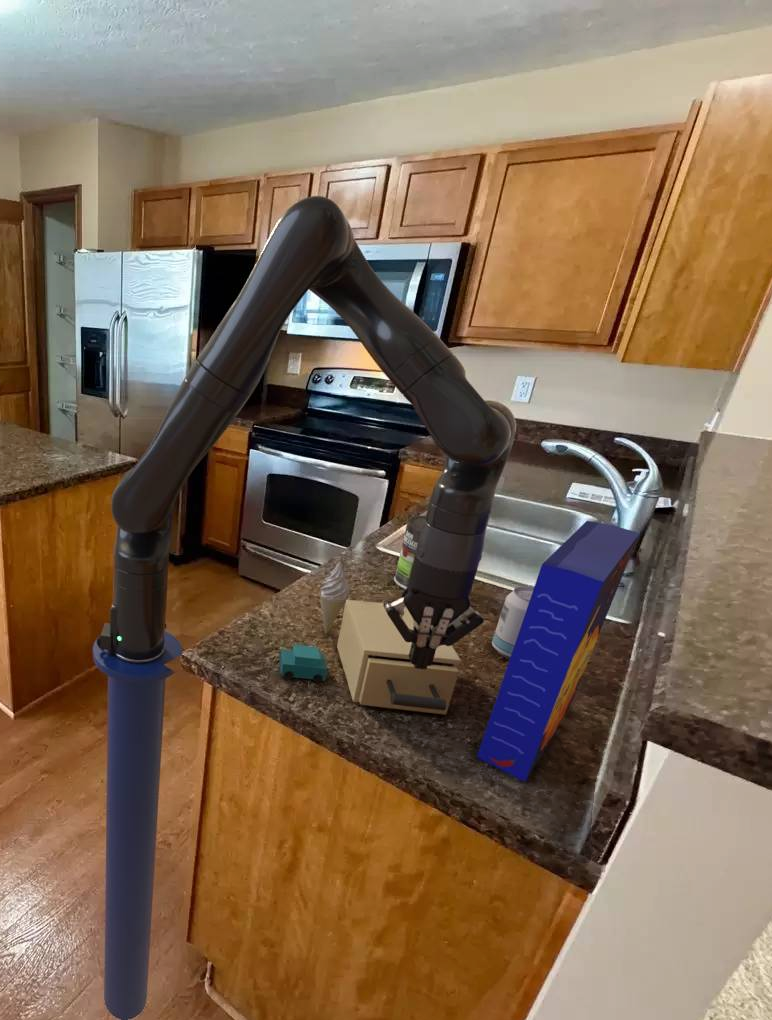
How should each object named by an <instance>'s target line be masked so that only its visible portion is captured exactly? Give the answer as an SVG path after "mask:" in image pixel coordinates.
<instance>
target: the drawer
mask: <svg viewBox="0 0 772 1020" xmlns="http://www.w3.org/2000/svg"><path fill="white" fill-rule="evenodd" d="M447 664H448V663H439V662H433V663H432V664H431V666H427V669H417V668H415V667H414V665H413V664H412V663H411V661H410V659H402V658H392V657H383V656H373V655H369V656H368V661H367V665H366V670H365V674H364V679H363V683H362V688H361V692H360V697H359V702H360V703H359V702H358V703H359V704H360V705H361V706H368V707H376V708H377V707H378V708H385V709H386V708H387V709H394V710H402V711H403V710H404V711H411V712H419V713H420V712H421V713H427V714H428V713H429V714H437V715H445V716H446V715H447V714H448V710H449V706H450V704H451V700H452V696H453V693H454V689H455V686H456V684H457V680H458V677H459V673H460V671H459V668H458V669H457V668H456V667H450V666H447Z"/></svg>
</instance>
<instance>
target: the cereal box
mask: <svg viewBox="0 0 772 1020" xmlns="http://www.w3.org/2000/svg"><path fill="white" fill-rule="evenodd" d="M640 535H641V533H640V532H637V531H633V530H631V529H628V528H624V527H620V526H617V525H614V524H609V523H604V522H596V521H591V520H586V521H585V522H583V524H582V525H580V527H579V528H578V529H576V530H575V532H573V533H572V534H571V535H570V537H568V538H567V539H566V540H565V541H564V542H563V543H562V544H561V545H560V546H559V547H558V548H557V549H556V550H555V551H554V552H553V553H552V554H551V555H550V556H549V557H548V558H547V559H545V560H544V561H543V562H542V564H541V566H540V569H539V571H538V574H537V577H536V581H535V584H534V587H533V588H534V589H533V592H532V595H531V598H530V601H529V604H528V607H527V610H526V613H525V616H524V619H523V622H522V625H521V628H520V631H519V634H518V637H517V640H516V643H515V646H514V648H513V651H512V654H511V657H510V659H508V664H507V666H506V669H505V672H504V675H503V678H502V682H501V683H500V687H499V690H498V693H497V696H496V698H495V702H494V705H493V707H492V711H491V714H490V716H489V719H488V722H487V725H486V728H485V731H484V735H483V737H482V740H481V743H480V746H479V749H478V752H477V755H476V758H478V759H479V760H482V761H484V762H485V763H487V764H489V765H491V766H492V767H495V768H497V769H499V770H501V771H503V772H505V773H507V774H508V775H510V776H512V777H514V778H516V779H518V780H520V781H522V782H524V783H526V782H527V780H528V778H529V776H530V775H531V774H532V771H533V770H534V768H535V767H536V765H537V763H538V762H539V760H540V759H541V757H542V755H543V753H544V752H545V750H546V749H547V747H548V745H549V744H550V741H551V740H552V739H553V737H554V735H555V733H556V732H557V730H558V728H559V727H560V725H561V724H562V722H563V720H564V718H565V717H566V715H567V714H568V712H569V710H570V708H571V705H572V703H573V700H574V698H575V695H576V692H577V690H578V688H579V685H580V682H581V680H582V678H583V675H584V673H585V670H586V668H587V665H588V663H589V661H590V658H591V655H592V653H593V651H594V648H595V645H596V643H597V640H598V638H599V635H600V633H601V630H602V628H603V625H604V623H605V621H606V619H607V616H608V614H609V611H610V608H611V606H612V604H613V601H614V598H615V596H616V593H617V591H618V589H619V586H620V584H621V581H622V579H623V576H624V574H625V571H626V568H627V566H628V564H629V561H630V559H631V557H632V553H633V551H634V549H635V546H636V544H637V541H638V538H639V536H640Z"/></svg>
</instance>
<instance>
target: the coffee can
mask: <svg viewBox="0 0 772 1020" xmlns="http://www.w3.org/2000/svg"><path fill="white" fill-rule="evenodd" d="M425 519H426V515H414V516H410V517H408V518H407V520H406V527H405V531H404V536H403V541H402V544H401V548H400V553H399V556H398V557H399V558H398V561H397V565H396V570H395V573H394V574H395V575H394V576H393V581H394V583H395V584H396V585H397V586H399V587H400V588H401V589H404V590H406V588H407V587H408V582H409V577H410V573H411V569H412V565H413V560H414V556H415V552H416V548H417V543H418V539H419V535H420V532H421V530H422V528H423V525H424V522H425Z"/></svg>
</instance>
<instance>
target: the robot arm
mask: <svg viewBox="0 0 772 1020" xmlns="http://www.w3.org/2000/svg"><path fill="white" fill-rule="evenodd" d="M308 291H310V292H311V293H312V294H314V295H315V296H316V297H318V298H319V299H320V300H322V301H323V302H324V303H325V304H326V305H327V306H329V307H330V308H331V309H332V310H333V311H334V312H335V313H336V314H337V315H338V316H339V317H340V318H341V319H342V321H344V322H345V324H346V325H347V326H348V327H349V329H350V330H351V331H352V332H353V333H354V335H355V336H356V337H357V339H358V341H359V342H360V343H361V344H362V346H363V347H364V349H365V351H366V352H367V353H368V354H369V356H370V357H371V359H372V360H373V361H374V363H375V364H376V365H377V367H379V369H380V370H381V372H382V373H383V374H384V376H385V377H386V378H387V379H388V380H389V381H390V382H391V384H392V385H393V386H394V387H395V388H396V389H397V390H398V391H399V393H400V394H401V395H402V396H403V397H404V398H405V399H406V400H407V401H408V402H409V403H410V404H411V405H412V407H413V409H414V410H415V411H416V413H417V416H418V417H419V419H420V421H421V423H422V424H423V426H424V427H425V429H426V431H427V432H428V434H429V436H430V437H431V439H432V440H433V442H434V444H436V446H437V447H438V448H439V450H440V451H441V452H442V453H443V454H444V455H445V460H444V463H443V468H442V471H441V474H440V476H439V478H438V480H436V482H435V484H434V486H433V489H432V491H431V495H430V498H429V502H428V506H427V511H426V515H425V516H426V519H425V522H424V525H423V528H422V530H421V532H420V535H419V539H418V543H417V548H416V552H415V556H414V560H413V565H412V569H411V573H410V577H409V582H408V587H407V588H406V589H404V590H403V592H402V593H401V597H400V598H398V599H396V600H395V601H390V600H386V601H384V602H383V603H384V604H383V606H384V608H385V610H386V612H387V614H388V616H389V618H390V619H391V621H392V622H393V624H394V625H395V627H396V628H397V630H398V631H399V633H400V634H401V636H402V637H403V639H404V640H405V641H406V642H412V644H411V648H410V652H409V659H410V661H411V663H412V664H413V665H414V667H415V668H417V669H427V666H431V664H432V663H433V659H434V655H435V651H436V648H437V647H438V646H441V645H446V646H451V645H452V646H453V645H454V644H456V643H457V642H458V641H461V639H463V638H464V637H465V636H467V635H469V634H470V633H472V631H474V630H475V629H477V628H478V627H480V626H481V625H482V624H483V623H484V618H483V617H482V615H481V613H479V611H478V610H477V609H476V608H474V607H473V608H472V607H471V601H470V595H471V594H472V593H471V592H472V589H473V586H474V582H475V579H476V575H477V572H478V569H479V566H480V565H479V564H480V562H481V560H482V557H483V551H484V545H485V536H486V532H487V529H488V524H489V520H490V517H491V514H492V510H493V506H494V500H495V496H496V490H497V487H498V484H499V482H500V479H501V477H502V474H503V471H504V469H505V466H506V465H507V462H508V459H509V456H510V453H511V450H512V448H513V444H514V441H515V438H516V432H517V421H516V418H515V416H514V414H513V412H512V411H511V409H510V408H509V407H507V406H506V405H504V404H503V403H502V402H499V401H496V400H487V399H484V398H483V397H482V396H481V394H480V393H479V392H478V391H477V390H476V388H475V387H474V386H473V385H472V384H471V382H470V381H469V380H468V379H467V376H466V368H465V367H464V365H463V364H462V362H461V361H460V360H459V358H458V357H457V356H456V355H455V354H454V352H452V351H451V350H450V348H449V347H448V346H447V345H446V344H445V343H444V342H443V340H442V339H441V338H440V337H439V336H438V335H437V334H436V333H435V332H434V330H432V329H431V328H430V327H429V325H427V323H426V322H424V321H423V319H422V318H421V317H420V316H418V315H417V314H416V313H415V311H413V310H412V309H411V308H410V307H409V306H407V305H406V304H405V303H404V302H403V301H401V300H400V299H399V298H398V297H397V296H396V295H395V294H394V293H393V292H392V291H391V290H390V289H389V288H388V287H387V286H386V284H385V282H383V281H382V280H381V278H380V277H379V276H378V275H377V273H376V272H375V271H374V269H373V267H372V266H371V265H370V264H369V262H368V260H367V258H366V257H365V255H364V254H363V251H362V250H361V248H360V246H359V245H358V243H357V241H356V239H355V238H354V232H353V229H352V227H351V224H350V223H349V221H348V219H347V217H346V216H345V213H344V212H343V210H342V209H341V208H340V206H339V205H338V204H337V203H336V202H335V201H334V200H332V199H331V198H329V197H326V196H322V195H312V196H308V197H304V198H302V199H299V200H298V201H297V202H295V203H293V204H292V205H291V206H290V207H288V208H287V209H286V211H285V212H283V214H282V215H281V216H280V217H279V219H278V221H277V222H276V223H275V225H274V227H273V229H272V231H271V232H270V234H269V237H268V238H267V241H266V242H265V245H264V246H263V248H262V250H261V252H260V254H259V257H258V258H257V260H256V262H255V264H254V266H253V268H252V269H251V272H250V274H249V276H248V277H247V280H246V282H245V283H244V284H243V287H242V289H241V290H240V292H239V294H238V296H237V297H236V299H235V300H234V302H233V303H232V305H231V306H230V307H229V309H228V311H227V312H226V314H225V315H224V317H223V318H222V320H221V321H220V323H219V324H218V325H217V327H216V329H215V331H214V332H213V334H212V335H211V337H210V339H209V340H208V342H207V344H205V346H204V347H203V349H202V350H201V352H200V353H199V355H198V356H197V358H196V360H195V361H194V363H193V364H192V366H191V367H190V369H189V371H188V372H187V374H186V375H185V377H184V378H183V380H182V382H181V383H180V385H179V387H178V389H177V390H176V393H175V395H174V397H173V398H172V401H171V402H170V404H169V406H168V408H167V410H166V413H165V414H164V416H163V419H162V421H161V422H160V424H159V427H158V430H157V431H156V434H155V436H154V437H153V440H152V441H151V443H150V445H149V446H148V448H147V449H146V451H145V452H144V454H143V455H142V456H141V457H140V458H139V460H138V461H137V463H136V464H135V466H134V467H132V468H130V469H129V470H128V471H126V472H125V473H124V475H122V477H121V479H120V480H119V482H118V484H117V485H116V486H115V488H114V490H113V492H112V495H111V498H110V499H111V500H110V510H111V515H112V519H113V521H114V522H115V524H116V525H117V528H116V536H115V541H114V546H113V556H112V557H113V567H112V569H113V570H112V571H113V573H112V575H113V576H112V577H113V578H112V581H113V582H112V603H111V605H110V607H109V608H110V610H109V622H105V623H104V625H103V627H102V630H101V633H100V635H99V636H98V637H97V638H96V639H97V645H98V647H99V648H100V649H101V650H102V651H103V650H110V656H115V657H117V658H118V659H120V660H122V661H124V662H128V663H132V664H146V663H151V662H154V661H156V660H158V659H159V658H160V657H161V656H162V655H163V653H164V635H165V631H166V630H167V622H166V617H167V601H168V600H167V599H168V598H167V597H168V583H169V581H168V579H169V565H170V564H169V562H170V552H171V545H172V534H173V521H174V509H175V508H174V506H175V504H174V503H175V502H176V500H177V498H178V496H179V494H180V493H181V490H182V489H183V487H184V485H185V484H186V482H187V480H188V479H189V477H190V476H191V474H192V473H193V471H194V469H196V467H197V465H198V464H199V463H200V462H201V461H202V460H203V458H204V457H205V456H206V455H207V454H208V453H209V451H211V449H212V448H213V447H214V446H215V444H216V443H217V442H218V441H219V439H220V438H221V436H222V435H223V434H224V433H225V432H226V431H227V429H228V428H229V426H230V425H231V423H233V421H234V420H235V419H236V417H237V416H238V414H239V413H240V412H241V410H242V409H243V407H244V406H245V404H247V402H248V400H249V399H250V398H251V395H253V393H254V392H255V389H256V388H257V387H258V385H259V383H260V381H261V379H262V377H263V376H264V374H265V371H266V368H267V366H268V364H269V361H270V359H271V356H272V353H273V350H274V348H275V345H276V342H277V340H278V337H279V335H280V333H281V331H282V328H283V327H284V325H285V323H286V322H287V319H288V318H289V317H290V315H292V314H291V313H293V311H294V310H295V308H296V307H297V305H299V303H300V301H302V300H303V297H304V296H305V295H306V294H307V292H308ZM404 607H406V608H407V609H408V611H409V613H410V614H411V616H412V618H413V630H411V629H409V628H408V626H407V625H406V623H405V622H404V620H403V619H402V617H403V615H404Z"/></svg>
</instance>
